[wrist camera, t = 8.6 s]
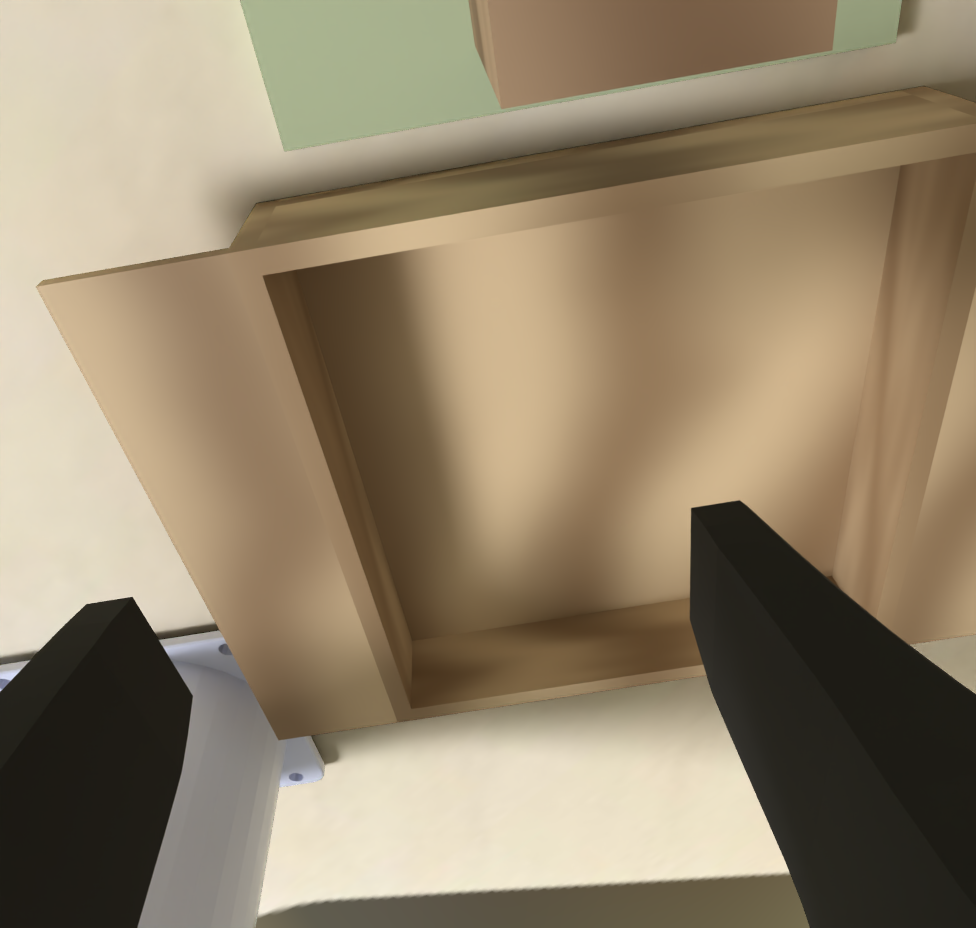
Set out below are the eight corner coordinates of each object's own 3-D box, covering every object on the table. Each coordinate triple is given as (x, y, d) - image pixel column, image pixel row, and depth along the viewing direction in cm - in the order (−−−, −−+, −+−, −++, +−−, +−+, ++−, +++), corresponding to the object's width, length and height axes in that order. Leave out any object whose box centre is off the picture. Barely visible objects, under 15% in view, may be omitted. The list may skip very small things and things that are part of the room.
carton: (293, 658, 24) (278, 740, 22) (95, 231, 16) (36, 287, 14) (951, 555, 23) (1012, 628, 21) (1097, 55, 15) (1224, 80, 13)
